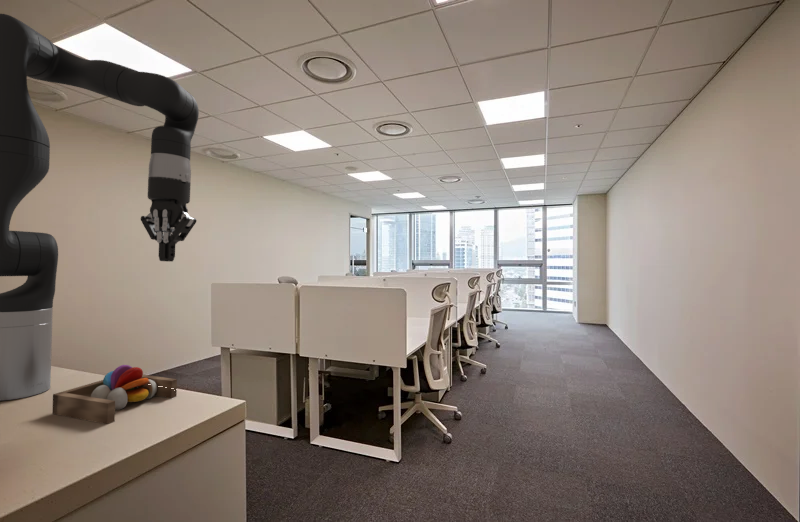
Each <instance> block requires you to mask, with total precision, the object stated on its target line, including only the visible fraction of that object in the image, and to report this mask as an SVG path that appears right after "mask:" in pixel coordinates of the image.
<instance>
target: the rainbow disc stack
mask: <svg viewBox="0 0 800 522" xmlns="http://www.w3.org/2000/svg"><path fill="white" fill-rule="evenodd" d="M142 375H144V371H143V369H142V368H140V367H139V366H137V367H136V366H133V367H132V366H131V365H129V364H122V365H119V366H117V367H116V368H115V369H114V370H111V371H109V372H108V373H106V374H105V375H104V377H103V379H102V380H103V383H104V385H101V386H99V387H97V388H96V389H95V390H94V391H93V392H92V394H91V397H94V398H100V399H106V400H112V401H115V411H116V410H122V409H124V408H125V407H126V406H127V404H128V403H135V402H141V401H143V400H149V399H152V398H153V397H155V396H154V395H155V393H156V391H157V385H156V383H155V382H154V381H153V380H150V379H148V378H142ZM148 384H151V385H148Z"/></svg>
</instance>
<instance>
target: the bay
mask: <svg viewBox="0 0 800 522" xmlns="http://www.w3.org/2000/svg"><path fill="white" fill-rule="evenodd" d="M142 378H148V379H150V380H153V381H154V382H155V383H156V385H157V391H156V393H155V395H154V396H153V397H162V398H168V399H173V398H175V397H177V394H178V391H177V390H176V389H178V379H177V378H170V377H163V376H156V375H150V374H149V375H148V374H143V375H142ZM101 385H104V383H103V379H101V380H98V381H95V382H90V383H87V384H84V385H81V386H77V387H74V388H70V389H67V390H63V391H60V392H57V393H53V394H52V413H51V414H52V415H56V416H61V417H67V418H73V419H77V420H83V421H88V422H93V423H94V422H95V423H99V424H100V423H101V424H104V425H109V424H111V423H113V422H115V420H116V418H115V417H116V416H115V415H116V409H115V401H112V400H106V399H100V398H94V397H91V394H92V392H93V391H94V390H95V389H96V388H97V387H99V386H101ZM158 386H163V387H158ZM165 387H167V388H165ZM171 388H174V389H171ZM174 390H175V391H174Z"/></svg>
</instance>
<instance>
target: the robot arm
mask: <svg viewBox="0 0 800 522" xmlns="http://www.w3.org/2000/svg"><path fill="white" fill-rule="evenodd" d="M28 78H30V79H34V80H36V81H37V80H38V81H43V82H49V83H54V84H61V85H66V86H71V87H75V88H79V89H84V90H87V91H90V92H93V93H97V94H99V95H102V96H105V97H107V98H110V99H113V100H116V101H119V102H121V103H125V104H128V105H130V106H131V105H132V106H135V107H148V108H150V109H152V110H155V111H156V112H159V113H160V114H162V115H163V116H164V117H165V119H164V124H163V125H160V126H156V127H155V128H154V129H153V130H152V132H151V141H150V142H151V143H150V146H151V147H150V158H149V163H148V176H147V177H148V178H147V179H148V180H147V199H148V200H149V201H151V206H150V208H149V213H148V214H147V215H146V216H145V215H141V216H140V221H141V224H142V226H143V227H144V229H145V231H146V232H147V235H149V238H150V240H155V241H156V242H157V243H158V260H159V261H160V262H174V260H175V257H176V245H177V244H178V243H180V242H184V241H185V239H186V238H187V236H188V235H189V234H190V232H191V231H192V229H193V228H194V226H195V225H196V223H197V218H195V217H192V216H191V215H190V214H189V213H188V211H189V210H188V207H187V204H189V203H190V201H191V178H192V168H191V153H192V152H191V151H192V150H191V149H192V147H191V146H192V145H191V143H192V142H191V141H192V139H193V136H194V135H195V130H196V128H197V125H198V121H199V117H200V116H199V114H200V111H199V105H198V102H197V100H196V98H195V97H194V96H193V95H192V94H191V93H190V92H189V91H188V90H186V89H185V88H184V87H183V86H182V85H180V84H179V83H178V82H177V81H175V80H174V79H172V78H170V77H167V76H165V75H161V74H159V73H156V72H155V73H153V72H149V71H148V72H147V71H138V70H135V69H133V68H129V67H128V66H124V65H122V64H118V63H116V62H112V61H107V60H103V59H85V58H82V57H79V56H77V55H74V54H72V53H71V52H68V51H67V50H65V49H63V48H61V47H59V46H58V45H56V44H54V43H53V42H52V41H51V40H50V39H48V38H47V37H46V36H44V35H42V33H40V32H38V31H36V30H35V29H33V28H32V27H31V26H30V25H28V24H26V23H24V22H23V21H21V20H20V19H19V18H16V17H13V16H12V15H10V14H5V13H0V277H27V279H26V281H25V282H24V283H22V284H21V285H20V286H17V287H16V288H15V287H14V288H13V289H10V290H7V291H5V292H0V401H10V400H16V399H22V398H28V397H32V396H35V395H38V394H41V393H44V392H47V391H48V390H50V389H51V379H52V376H51V375H52V374H51V373H52V350H53V349H52V348H53V347H52V343H53V312H54V311H53V309H54V308H53V307H54V297H55V295H56V294H55V293H56V283H57V282H56V280H57V272H58V271H57V270H58V262H59V246H58V243H57V240H56V238H55V236H53V235H52V234H50V233H48V232H37V231H36V232H34V231H22V230H10V225H11V219H12V216H13V214H14V212H15V210H16V208H17V207H18V205H19V204H20V203H21V202H22V201H23V199H24V198H25V197H26V196H27V195H28V194H29V193H30V192H32V191H33V190H34V189H35V188H36V187H37V186H38V185H39V184H40V183H41V182H42V181H43V179H45V177H46V176H47V174H48V173H49V170H50V154H51V153H50V152H51V151H50V150H51V149H50V148H51V145H50V138H49V135H48V131H47V129H46V127H45V125H44V123H43V121H42V119H41V117H40V114H39V113H38V112H37V110H36V108H35V105H34V103H33V101H32V98H31V95H30V93H29V89H28Z"/></svg>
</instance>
